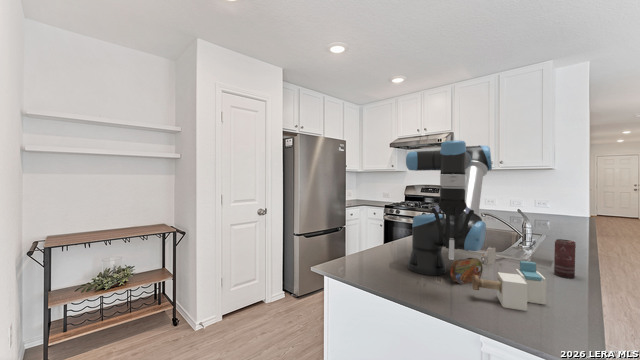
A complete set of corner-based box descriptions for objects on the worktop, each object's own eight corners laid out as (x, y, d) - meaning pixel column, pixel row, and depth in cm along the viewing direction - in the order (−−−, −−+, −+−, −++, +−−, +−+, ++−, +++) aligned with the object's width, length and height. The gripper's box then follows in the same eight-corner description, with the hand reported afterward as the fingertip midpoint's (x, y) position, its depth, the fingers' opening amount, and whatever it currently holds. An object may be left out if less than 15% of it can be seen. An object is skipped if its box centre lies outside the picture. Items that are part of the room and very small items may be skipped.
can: (579, 279, 106) (580, 242, 106) (560, 277, 107) (561, 242, 107) (568, 273, 112) (569, 239, 112) (550, 272, 113) (551, 238, 113)
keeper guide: (521, 301, 87) (521, 276, 87) (514, 292, 94) (515, 268, 94) (545, 304, 85) (546, 278, 85) (537, 295, 92) (538, 271, 91)
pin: (473, 292, 88) (473, 277, 88) (471, 286, 92) (472, 272, 92) (521, 298, 83) (521, 283, 83) (516, 292, 87) (517, 278, 87)
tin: (455, 285, 99) (455, 262, 99) (448, 282, 102) (448, 260, 102) (483, 279, 106) (483, 257, 105) (475, 276, 108) (476, 255, 108)
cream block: (502, 307, 83) (503, 281, 83) (497, 296, 91) (497, 272, 91) (526, 310, 81) (527, 284, 81) (518, 299, 89) (519, 274, 88)
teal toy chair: (526, 279, 87) (526, 267, 87) (519, 271, 93) (519, 260, 93) (541, 280, 85) (541, 268, 85) (533, 273, 92) (534, 262, 92)
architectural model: (480, 263, 125) (480, 247, 125) (489, 261, 128) (489, 245, 128) (487, 266, 122) (487, 249, 122) (496, 263, 125) (497, 247, 125)
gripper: (431, 187, 90) (430, 259, 91) (476, 188, 85) (475, 264, 86) (431, 186, 97) (430, 253, 98) (473, 187, 92) (471, 257, 93)
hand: (451, 258), depth 92 cm, fingers closed
